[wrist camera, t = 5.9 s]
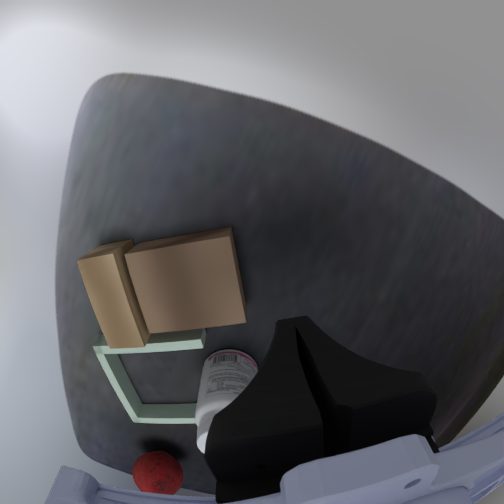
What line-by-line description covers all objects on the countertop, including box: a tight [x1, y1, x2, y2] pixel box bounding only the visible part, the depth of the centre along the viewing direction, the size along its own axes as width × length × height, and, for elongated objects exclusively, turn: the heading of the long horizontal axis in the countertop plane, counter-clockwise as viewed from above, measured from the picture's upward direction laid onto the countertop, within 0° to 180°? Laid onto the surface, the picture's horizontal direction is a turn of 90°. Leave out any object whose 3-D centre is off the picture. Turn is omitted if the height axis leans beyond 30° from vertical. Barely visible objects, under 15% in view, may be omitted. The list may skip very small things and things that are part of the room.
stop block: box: [77, 239, 151, 349], centre depth 20 cm, size 3×7×4 cm, turn 9°
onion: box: [132, 450, 183, 495], centre depth 24 cm, size 6×6×8 cm
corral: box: [93, 328, 206, 424], centre depth 23 cm, size 10×10×2 cm
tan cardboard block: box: [124, 227, 246, 333], centre depth 20 cm, size 7×6×3 cm
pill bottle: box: [195, 349, 258, 453], centre depth 20 cm, size 5×5×8 cm
